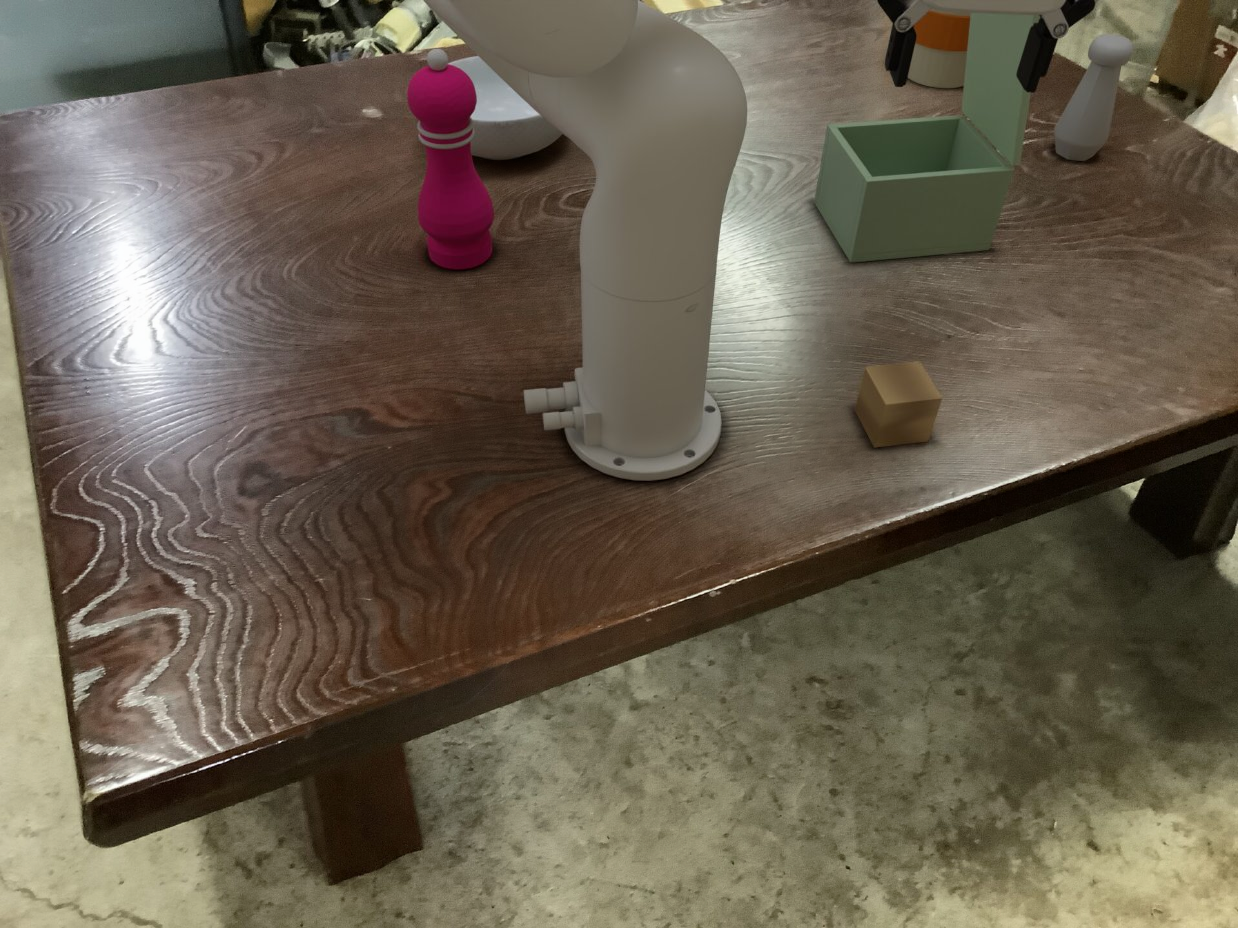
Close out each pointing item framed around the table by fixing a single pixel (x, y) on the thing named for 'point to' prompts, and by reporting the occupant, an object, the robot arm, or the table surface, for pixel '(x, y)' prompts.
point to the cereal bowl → (503, 117)
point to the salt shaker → (1093, 100)
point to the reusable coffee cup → (940, 49)
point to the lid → (997, 80)
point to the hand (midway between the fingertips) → (960, 82)
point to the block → (897, 404)
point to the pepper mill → (450, 166)
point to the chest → (911, 187)
